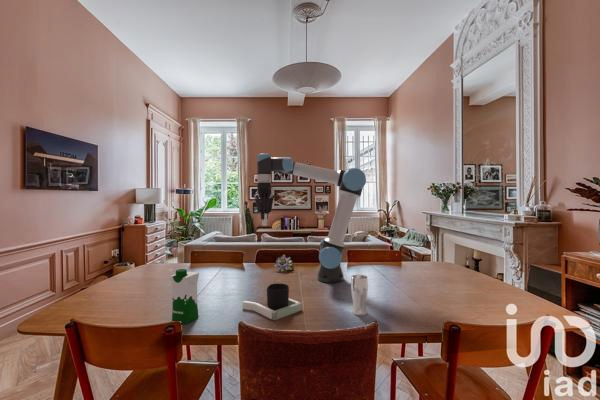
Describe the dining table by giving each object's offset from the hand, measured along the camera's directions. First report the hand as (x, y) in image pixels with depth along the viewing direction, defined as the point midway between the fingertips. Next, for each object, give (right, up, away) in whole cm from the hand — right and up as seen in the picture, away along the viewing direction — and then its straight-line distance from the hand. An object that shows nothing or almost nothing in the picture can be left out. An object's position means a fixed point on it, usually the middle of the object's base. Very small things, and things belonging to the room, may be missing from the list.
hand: (264, 225), depth 160 cm
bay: (+8, -33, -34) cm, 48 cm away
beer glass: (+44, -33, -39) cm, 67 cm away
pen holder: (+10, -33, -35) cm, 50 cm away
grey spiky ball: (+9, -32, +31) cm, 46 cm away
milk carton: (-26, -33, -45) cm, 61 cm away
